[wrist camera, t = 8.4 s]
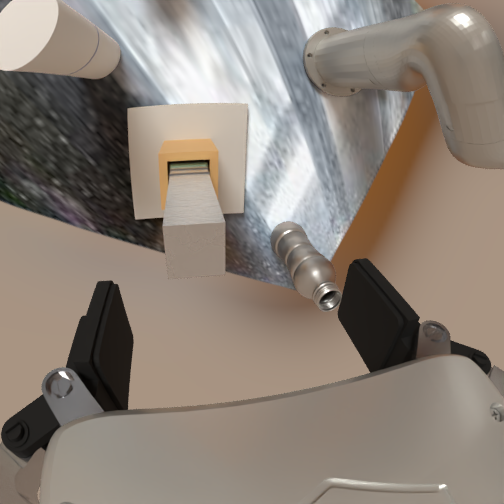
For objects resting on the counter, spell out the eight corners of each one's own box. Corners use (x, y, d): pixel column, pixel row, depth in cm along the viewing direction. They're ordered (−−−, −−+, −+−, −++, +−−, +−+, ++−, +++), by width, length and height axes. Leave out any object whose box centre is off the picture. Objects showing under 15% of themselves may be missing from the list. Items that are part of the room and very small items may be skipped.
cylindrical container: (120, 75, 35) (55, 55, 14) (77, 83, 34) (-15, 82, 13) (121, 33, 32) (63, -22, 11) (78, 41, 30) (-8, 8, 9)
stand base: (246, 103, 42) (268, 106, 31) (242, 210, 51) (260, 246, 40) (128, 108, 38) (108, 112, 27) (136, 216, 47) (123, 255, 36)
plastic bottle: (267, 252, 56) (305, 324, 39) (267, 218, 53) (309, 284, 36) (299, 248, 57) (347, 315, 40) (301, 215, 54) (355, 276, 37)
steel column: (204, 155, 38) (227, 220, 19) (204, 185, 40) (227, 276, 21) (171, 156, 37) (159, 224, 18) (172, 187, 39) (166, 281, 20)
